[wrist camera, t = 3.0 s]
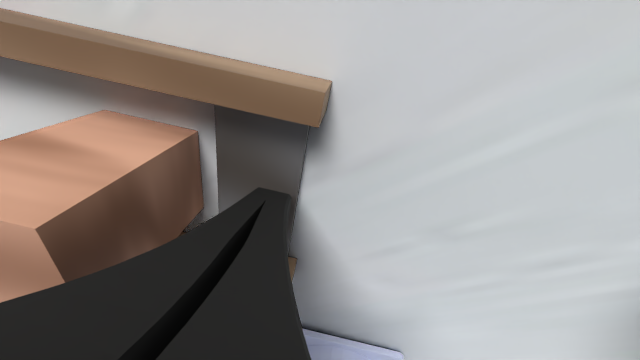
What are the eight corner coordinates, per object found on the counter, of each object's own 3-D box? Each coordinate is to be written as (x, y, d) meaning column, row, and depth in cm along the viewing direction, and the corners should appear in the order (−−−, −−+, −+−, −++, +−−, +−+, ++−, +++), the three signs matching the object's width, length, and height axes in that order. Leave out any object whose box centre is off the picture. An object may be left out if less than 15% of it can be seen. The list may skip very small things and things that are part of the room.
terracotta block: (204, 207, 12) (92, 331, 7) (126, 189, 12) (-40, 298, 7) (198, 130, 10) (34, 228, 5) (104, 109, 10) (-148, 184, 5)
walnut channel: (294, 271, 14) (285, 304, 12) (17, 205, 14) (-30, 229, 12) (332, 80, 8) (325, 92, 7) (-109, -17, 9) (-222, -28, 7)
